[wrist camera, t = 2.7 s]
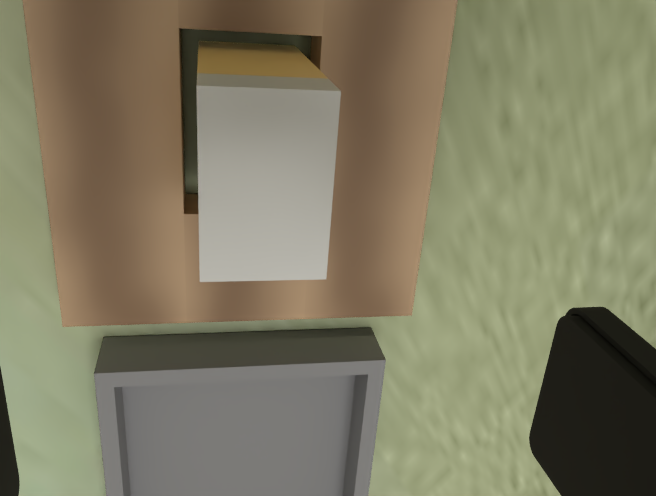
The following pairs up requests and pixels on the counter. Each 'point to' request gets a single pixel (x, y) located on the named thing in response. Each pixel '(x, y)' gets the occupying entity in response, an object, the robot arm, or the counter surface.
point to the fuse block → (264, 162)
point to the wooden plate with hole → (169, 167)
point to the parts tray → (239, 413)
